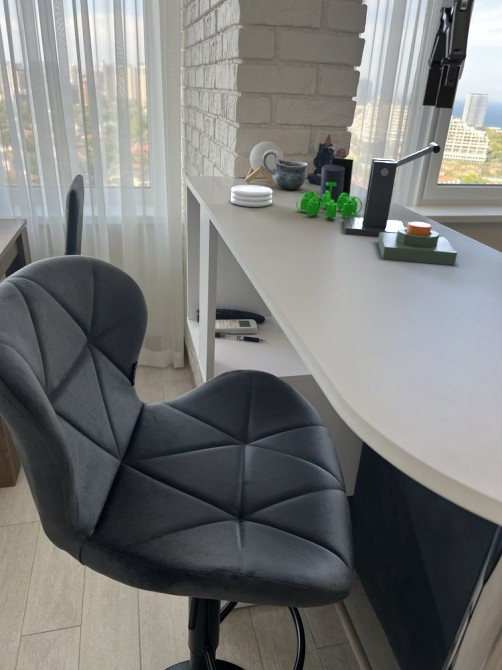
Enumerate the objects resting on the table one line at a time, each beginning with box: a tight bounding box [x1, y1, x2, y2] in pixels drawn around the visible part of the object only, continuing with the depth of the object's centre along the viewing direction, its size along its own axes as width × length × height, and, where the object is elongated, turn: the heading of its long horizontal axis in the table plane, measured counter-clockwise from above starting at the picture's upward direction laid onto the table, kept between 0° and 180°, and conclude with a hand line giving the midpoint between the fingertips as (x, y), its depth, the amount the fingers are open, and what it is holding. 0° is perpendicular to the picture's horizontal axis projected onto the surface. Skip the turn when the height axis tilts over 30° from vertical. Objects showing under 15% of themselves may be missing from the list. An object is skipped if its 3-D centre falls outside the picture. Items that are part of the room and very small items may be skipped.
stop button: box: [406, 221, 432, 236], centre depth 89 cm, size 4×4×2 cm
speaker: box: [319, 157, 354, 203], centre depth 129 cm, size 8×6×10 cm
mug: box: [261, 149, 309, 190], centre depth 140 cm, size 10×12×10 cm
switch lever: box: [385, 142, 442, 168], centre depth 98 cm, size 12×5×2 cm, turn 82°
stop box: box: [377, 226, 458, 266], centre depth 90 cm, size 12×10×4 cm
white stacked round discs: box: [230, 184, 273, 208], centre depth 122 cm, size 10×10×4 cm
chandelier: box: [295, 182, 363, 221], centre depth 115 cm, size 15×15×7 cm
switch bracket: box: [343, 157, 405, 238], centre depth 102 cm, size 12×10×14 cm
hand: (435, 107), depth 94 cm, fingers open, 13 cm apart
